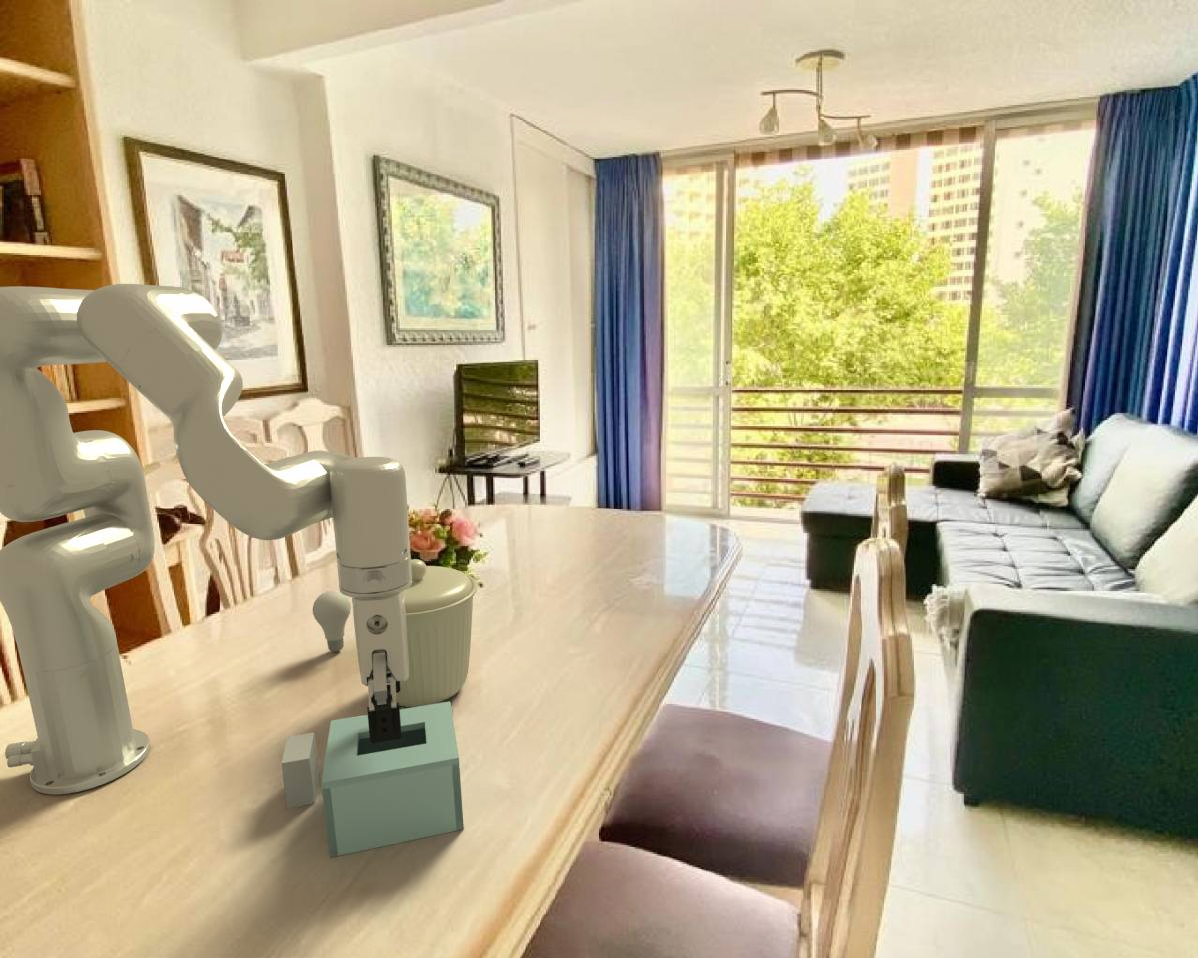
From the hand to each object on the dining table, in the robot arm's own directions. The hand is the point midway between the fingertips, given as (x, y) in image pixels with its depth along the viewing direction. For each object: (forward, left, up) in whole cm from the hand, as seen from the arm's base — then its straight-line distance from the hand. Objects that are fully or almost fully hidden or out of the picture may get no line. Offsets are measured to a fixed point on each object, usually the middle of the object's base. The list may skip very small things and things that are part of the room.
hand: (386, 714), depth 78 cm
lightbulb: (-10, +44, -12) cm, 47 cm away
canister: (+4, +26, -12) cm, 29 cm away
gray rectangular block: (-11, +6, -12) cm, 17 cm away
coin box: (0, 0, -12) cm, 12 cm away
